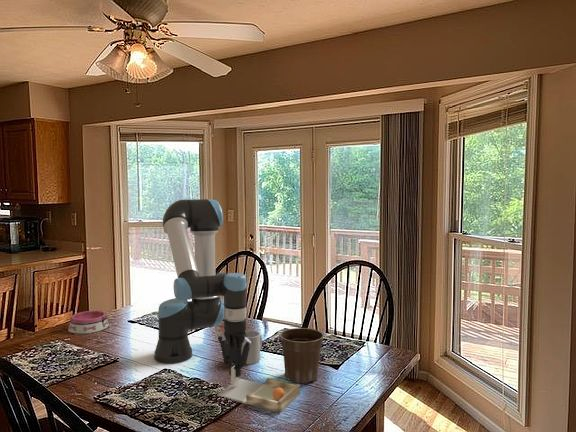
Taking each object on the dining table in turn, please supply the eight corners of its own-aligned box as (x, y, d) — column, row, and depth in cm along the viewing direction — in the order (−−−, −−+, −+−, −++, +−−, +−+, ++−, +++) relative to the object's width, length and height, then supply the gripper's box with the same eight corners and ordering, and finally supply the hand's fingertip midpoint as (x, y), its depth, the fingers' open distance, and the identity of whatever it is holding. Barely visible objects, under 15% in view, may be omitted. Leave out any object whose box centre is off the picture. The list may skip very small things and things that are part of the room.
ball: (271, 389, 145) (282, 395, 143) (277, 382, 148) (288, 388, 147) (269, 398, 146) (279, 405, 144) (275, 392, 149) (285, 398, 148)
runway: (217, 396, 150) (217, 394, 150) (240, 380, 162) (240, 378, 162) (280, 413, 139) (280, 411, 139) (299, 394, 151) (299, 392, 151)
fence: (246, 403, 145) (246, 393, 144) (267, 386, 157) (267, 377, 157) (280, 413, 139) (280, 402, 139) (299, 394, 151) (299, 384, 151)
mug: (251, 366, 175) (251, 338, 174) (234, 361, 179) (234, 334, 179) (269, 356, 185) (269, 330, 184) (252, 352, 189) (252, 327, 189)
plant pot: (280, 367, 174) (280, 326, 173) (322, 368, 173) (322, 327, 172) (278, 386, 158) (278, 341, 157) (324, 387, 157) (324, 342, 156)
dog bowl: (99, 334, 211) (99, 320, 210) (60, 334, 211) (60, 320, 210) (115, 323, 229) (114, 309, 229) (79, 322, 229) (78, 309, 229)
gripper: (213, 318, 153) (213, 385, 155) (245, 324, 147) (245, 393, 149) (225, 313, 160) (225, 376, 162) (257, 318, 154) (256, 384, 156)
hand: (234, 384), depth 155 cm, fingers closed
